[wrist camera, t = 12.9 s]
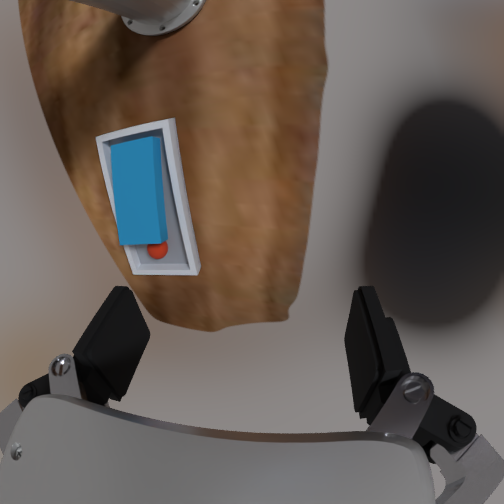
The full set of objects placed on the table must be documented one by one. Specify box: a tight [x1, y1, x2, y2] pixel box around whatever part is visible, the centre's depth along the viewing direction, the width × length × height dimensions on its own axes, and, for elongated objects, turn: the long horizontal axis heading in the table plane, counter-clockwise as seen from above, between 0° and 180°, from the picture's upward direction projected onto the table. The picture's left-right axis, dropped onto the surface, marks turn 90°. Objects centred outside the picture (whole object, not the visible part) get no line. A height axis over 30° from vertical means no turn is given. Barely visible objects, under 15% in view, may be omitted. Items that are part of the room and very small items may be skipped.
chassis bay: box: [96, 118, 201, 275], centre depth 39 cm, size 24×12×2 cm, turn 5°
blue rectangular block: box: [111, 136, 168, 259], centre depth 38 cm, size 7×7×18 cm
